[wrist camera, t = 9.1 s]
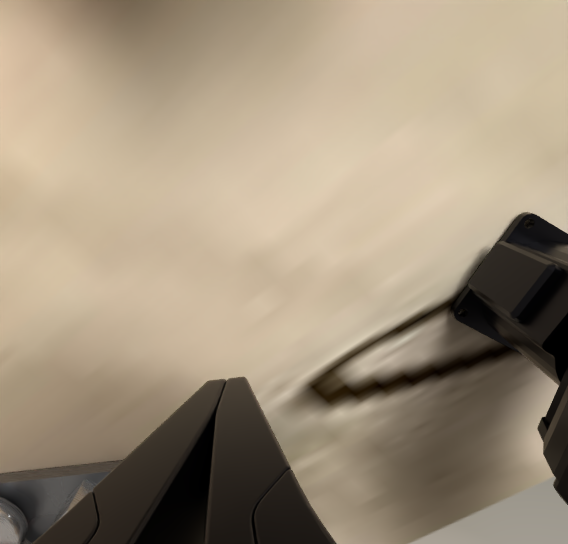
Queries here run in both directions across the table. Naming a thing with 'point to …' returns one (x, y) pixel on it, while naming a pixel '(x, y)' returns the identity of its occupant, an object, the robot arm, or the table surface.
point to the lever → (12, 524)
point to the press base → (51, 492)
